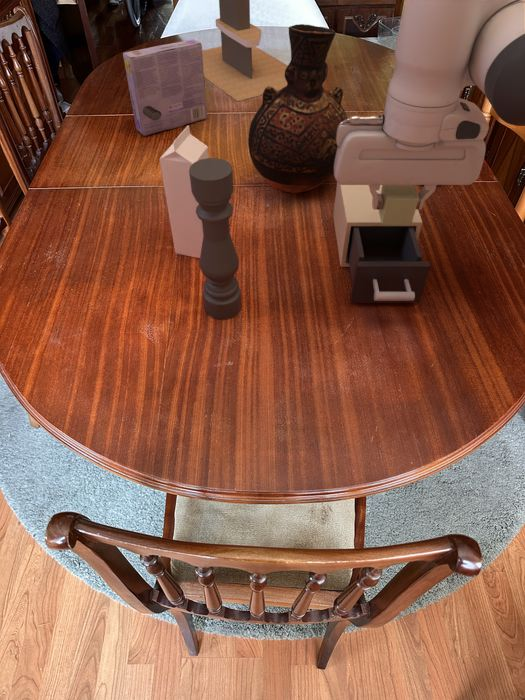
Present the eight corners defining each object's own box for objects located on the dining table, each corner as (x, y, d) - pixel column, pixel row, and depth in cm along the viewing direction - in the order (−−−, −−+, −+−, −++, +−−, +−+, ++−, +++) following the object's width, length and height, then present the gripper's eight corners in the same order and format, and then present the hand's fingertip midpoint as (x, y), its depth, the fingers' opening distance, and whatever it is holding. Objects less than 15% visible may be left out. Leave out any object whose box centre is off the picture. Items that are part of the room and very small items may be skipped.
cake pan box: (203, 110, 133) (196, 35, 120) (212, 118, 130) (206, 41, 117) (135, 130, 126) (120, 52, 113) (143, 138, 124) (129, 59, 110)
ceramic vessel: (256, 211, 103) (253, 49, 80) (243, 167, 114) (237, 14, 92) (355, 201, 105) (380, 40, 83) (333, 159, 117) (350, 7, 94)
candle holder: (238, 291, 87) (231, 155, 69) (244, 317, 83) (237, 179, 65) (202, 296, 87) (185, 159, 68) (206, 321, 83) (188, 183, 64)
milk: (175, 254, 94) (154, 139, 78) (187, 235, 98) (170, 121, 81) (205, 259, 93) (191, 144, 76) (217, 240, 97) (206, 126, 80)
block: (406, 208, 79) (412, 182, 76) (411, 225, 76) (418, 199, 73) (377, 208, 79) (382, 182, 76) (381, 225, 76) (387, 199, 73)
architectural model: (313, 80, 145) (319, -1, 130) (237, 101, 137) (234, 17, 122) (245, 40, 167) (243, -33, 152) (176, 56, 158) (166, -20, 143)
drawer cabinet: (410, 267, 92) (422, 222, 84) (340, 267, 92) (347, 222, 84) (395, 216, 102) (405, 172, 94) (333, 216, 102) (338, 172, 95)
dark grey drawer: (424, 321, 81) (436, 284, 76) (353, 321, 81) (360, 284, 76) (403, 248, 94) (413, 212, 88) (342, 248, 94) (347, 212, 88)
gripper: (340, 126, 64) (329, 219, 75) (502, 127, 64) (468, 219, 75) (336, 105, 68) (326, 195, 79) (487, 105, 68) (458, 195, 79)
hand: (396, 207), depth 77 cm, fingers closed on block, 4 cm apart
